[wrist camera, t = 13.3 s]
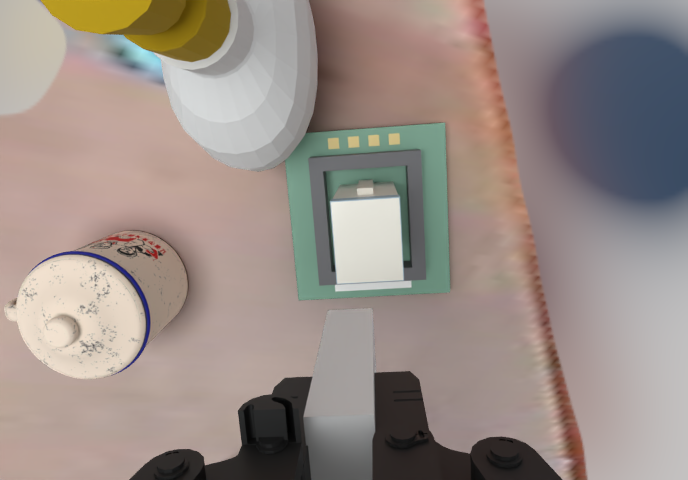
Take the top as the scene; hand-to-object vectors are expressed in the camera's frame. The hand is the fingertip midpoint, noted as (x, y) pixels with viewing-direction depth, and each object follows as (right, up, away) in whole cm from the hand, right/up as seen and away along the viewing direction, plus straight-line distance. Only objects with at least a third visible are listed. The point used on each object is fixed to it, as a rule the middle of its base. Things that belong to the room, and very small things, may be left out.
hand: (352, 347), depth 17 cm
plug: (+2, +6, +22) cm, 23 cm away
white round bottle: (-5, +17, +22) cm, 28 cm away
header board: (+2, +6, +24) cm, 24 cm away
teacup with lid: (-19, 0, +26) cm, 32 cm away
